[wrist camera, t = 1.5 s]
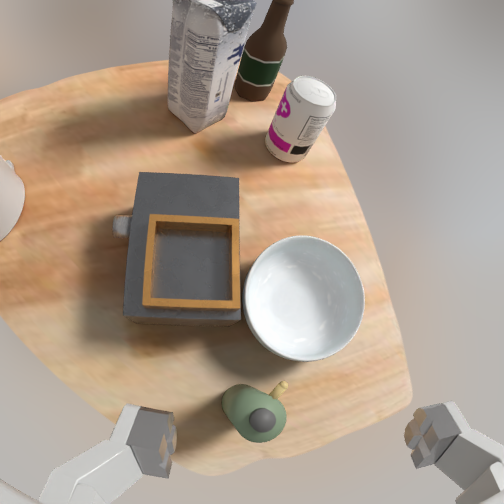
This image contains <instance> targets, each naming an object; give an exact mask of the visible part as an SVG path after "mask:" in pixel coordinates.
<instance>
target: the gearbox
mask: <svg viewBox="0 0 504 504" xmlns="http://www.w3.org/2000/svg"><path fill="white" fill-rule="evenodd" d="M113 236H114V238H129V246H128V255H127V265H126V277H125V290H124V307H123V316H125V317H126V318H128V319H130V320H131V321H133V322H134V323H140V324H158V325H182V326H231V325H232V324H234V323H236V322H238V321H239V320H241V301H240V237H239V178H233V177H220V176H207V175H192V174H174V173H151V172H139V177H138V183H137V189H136V195H135V201H134V207H133V214H132V216H129V215H115V217H114V220H113Z"/></svg>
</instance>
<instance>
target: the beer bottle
mask: <svg viewBox="0 0 504 504" xmlns="http://www.w3.org/2000/svg"><path fill="white" fill-rule="evenodd" d="M293 1H294V0H273V1H272V3H271V5H270V8H269V10H268V13H267V15H266V17H265V20H264V22H263V24H262V26H261V27H260V28H259V29H258V30H257V31H255V32H254V33H253V34H252V35H251V36H250V37H249V39H248V40H247V42H246V45H245V47H244V51H243V54H242V58H241V62H240V66H239V69H238V73H237V77H236V81H235V89H236V91H237V92H238V94H239V96H240V97H242V98H245V99H247V100H250V101H261V100H265V99H266V97H267V96H268V94H269V93H270V91H271V89H272V87H273V84H274V81H275V79H276V76H277V74H278V71H279V68H280V66H281V63H282V61H283V58H284V56H285V52H286V49H287V44H286V39H285V37H284V34H283V33H284V26H285V23H286V20H287V16H288V13H289V9H290V6H291V5H292V4H293V3H294V2H293Z"/></svg>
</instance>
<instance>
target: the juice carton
mask: <svg viewBox="0 0 504 504" xmlns="http://www.w3.org/2000/svg"><path fill="white" fill-rule="evenodd" d="M255 6H256V2H255V1H253V0H173V11H172V23H171V35H170V51H169V71H168V109H169V110H170V111H171V112H172V113H173V114H174V115H175V116H177V117H178V118H179V119H180V120H181V121H182V122H183V123H184V124H185V125H186V126H187V127H188V128H189V129H190V130H191V131H192V132H194V133H198V132H200V131H201V130H203V129H205V128H206V127H208V126H210V125H212V124H214V123H216V122H218V121H220V120H222V119H223V118H224V117H225V115H226V112H227V109H228V105H229V101H230V97H231V93H232V89H233V85H234V81H235V77H236V73H237V69H238V65H239V61H240V57H241V54H242V50H243V46H244V42H245V39H246V35H247V32H248V28H249V24H250V21H251V17H252V15H253V12H254V9H255Z"/></svg>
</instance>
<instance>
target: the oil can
mask: <svg viewBox="0 0 504 504" xmlns="http://www.w3.org/2000/svg"><path fill="white" fill-rule="evenodd" d="M287 388H288V383H287V382H285V381H281V382H280V383H279V384H278V385H277V386H276V387H275V388H274V389H273V391H272V392H271V393H270V394H269V395H268V394H266V393H263V392H261V391H259V390H257V389H255V388H253V387H251V386H248V385H244V384H239V385H235V386H233V387H231V388H229V389H228V390H227V391H226V392H225V394H224V395H223V398H222V408H223V411H224V413H225V414H226V415H227V417H228V418H229V420H230V421H231V422H232V424H233V425H234V427H235V428H236V429H237V431H238V432H239V433H240V435H241V436H242V437H244V438H245V439H247V440H249V441H251V442H257V443H262V442H267V441H270V440H272V439H274V438H275V437H277V436H278V435H279V434H280V433H281V431H282V430H283V428H284V426H285V423H286V411H285V408H284V406H283V405H282V403H281V402H280V401H279V400H277V399H278V398H279V397H280V396H281V394H282V393H283V392H284V391H285V390H286V389H287Z"/></svg>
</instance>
